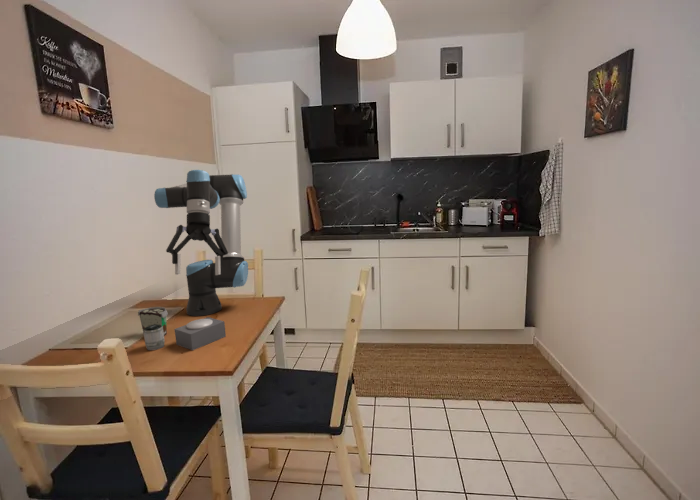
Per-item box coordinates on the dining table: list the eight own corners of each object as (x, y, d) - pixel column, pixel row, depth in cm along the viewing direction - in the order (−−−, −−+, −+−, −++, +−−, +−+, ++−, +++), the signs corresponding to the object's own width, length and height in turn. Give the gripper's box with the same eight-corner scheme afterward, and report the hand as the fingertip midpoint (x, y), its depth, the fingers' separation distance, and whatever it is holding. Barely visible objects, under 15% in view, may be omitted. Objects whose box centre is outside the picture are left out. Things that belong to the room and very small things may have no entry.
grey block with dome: (175, 344, 138) (172, 326, 137) (208, 331, 149) (206, 314, 148) (192, 350, 132) (190, 332, 131) (225, 336, 143) (224, 319, 142)
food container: (177, 331, 150) (174, 307, 149) (165, 337, 145) (162, 312, 143) (153, 329, 154) (150, 305, 153) (140, 334, 149) (137, 310, 147)
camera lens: (169, 344, 138) (166, 324, 136) (153, 351, 132) (151, 330, 131) (157, 342, 140) (154, 322, 139) (141, 349, 135) (138, 328, 133)
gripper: (163, 206, 121) (162, 272, 117) (236, 215, 138) (237, 273, 134) (156, 212, 126) (155, 275, 123) (227, 220, 143) (228, 276, 140)
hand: (198, 274), depth 129 cm, fingers open, 13 cm apart
